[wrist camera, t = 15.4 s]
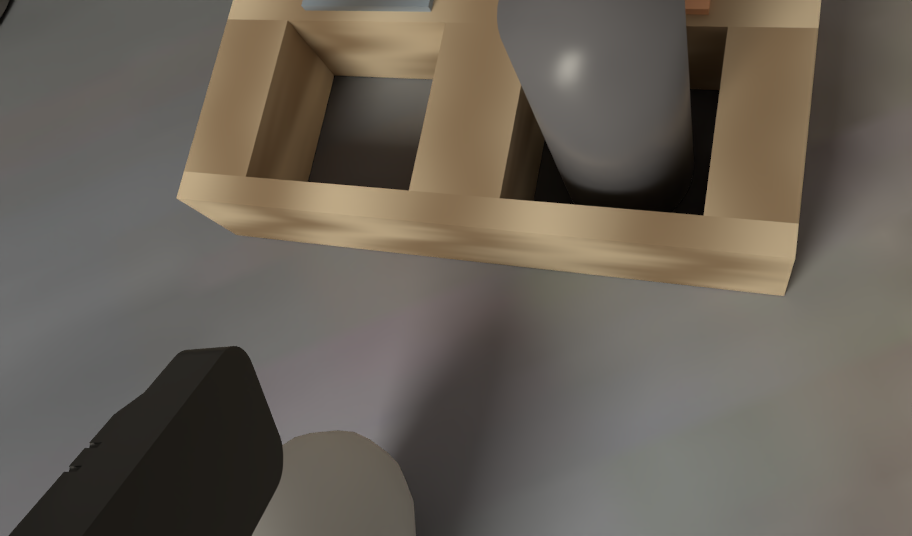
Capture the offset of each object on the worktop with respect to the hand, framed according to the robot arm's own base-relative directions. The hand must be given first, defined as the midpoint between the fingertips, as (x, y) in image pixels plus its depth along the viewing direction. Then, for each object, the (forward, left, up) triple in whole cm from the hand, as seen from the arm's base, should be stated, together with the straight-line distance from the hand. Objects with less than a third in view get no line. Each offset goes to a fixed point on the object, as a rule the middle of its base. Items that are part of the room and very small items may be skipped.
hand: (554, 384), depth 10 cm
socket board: (-12, +6, -17) cm, 21 cm away
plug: (-7, +7, -17) cm, 20 cm away
